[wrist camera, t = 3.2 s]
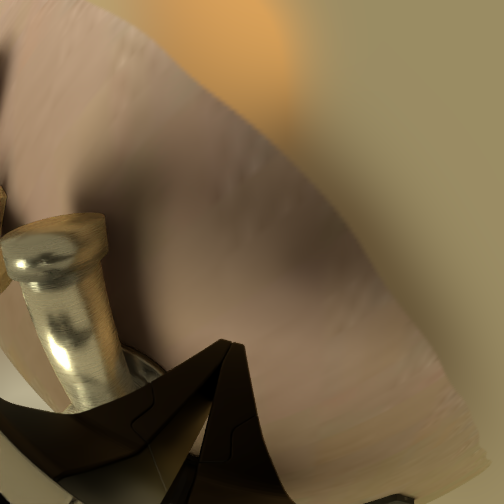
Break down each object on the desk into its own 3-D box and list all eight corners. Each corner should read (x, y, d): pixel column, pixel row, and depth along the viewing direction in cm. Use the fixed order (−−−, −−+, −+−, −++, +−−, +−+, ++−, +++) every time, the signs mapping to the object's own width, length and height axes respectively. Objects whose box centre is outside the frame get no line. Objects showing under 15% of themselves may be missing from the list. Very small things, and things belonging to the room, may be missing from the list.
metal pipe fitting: (206, 401, 15) (173, 475, 10) (157, 428, 18) (128, 479, 13) (2, 180, 14) (-55, 196, 8) (-8, 248, 16) (-51, 270, 11)
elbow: (171, 420, 16) (136, 486, 10) (114, 400, 17) (74, 452, 11) (127, 212, 11) (13, 259, 5) (59, 212, 12) (-31, 247, 6)
